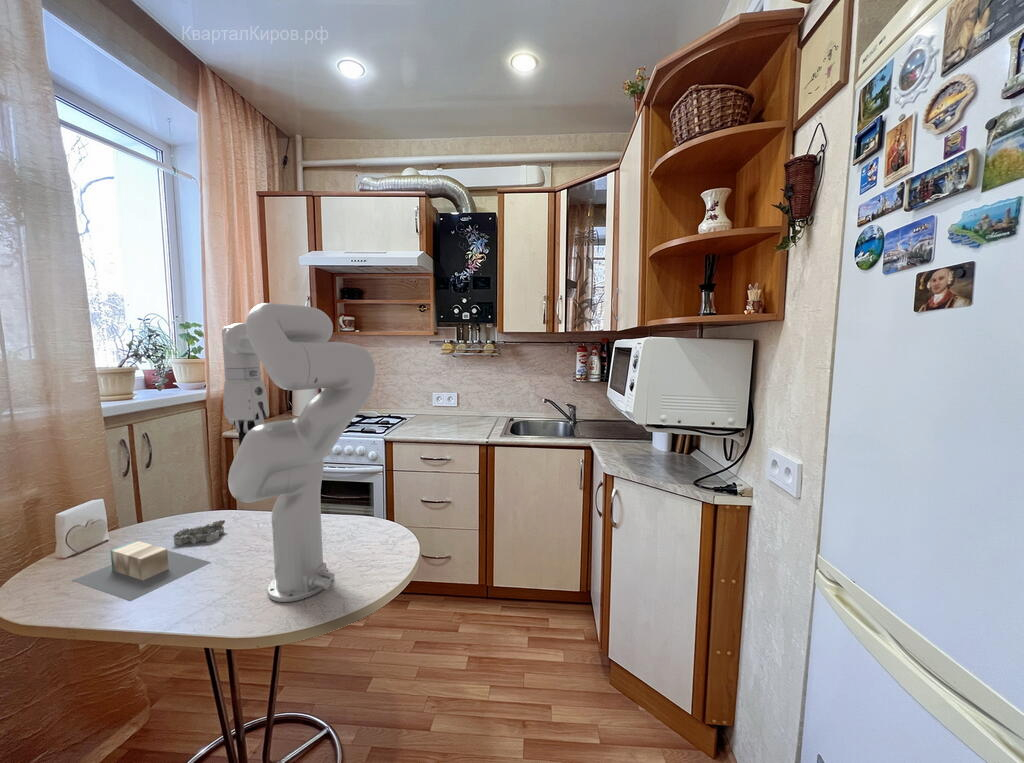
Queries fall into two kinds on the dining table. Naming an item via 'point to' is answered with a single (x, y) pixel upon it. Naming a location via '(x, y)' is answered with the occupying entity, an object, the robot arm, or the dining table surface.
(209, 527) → the grey jagged stone ring
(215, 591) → the dining table surface
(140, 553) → the birch block
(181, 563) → the rubber mat
